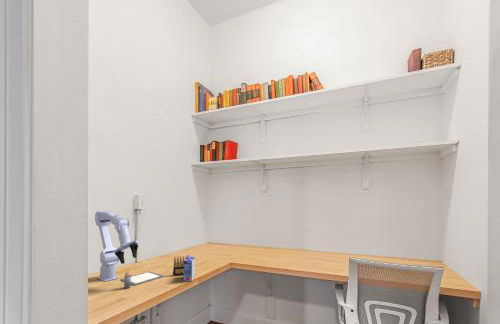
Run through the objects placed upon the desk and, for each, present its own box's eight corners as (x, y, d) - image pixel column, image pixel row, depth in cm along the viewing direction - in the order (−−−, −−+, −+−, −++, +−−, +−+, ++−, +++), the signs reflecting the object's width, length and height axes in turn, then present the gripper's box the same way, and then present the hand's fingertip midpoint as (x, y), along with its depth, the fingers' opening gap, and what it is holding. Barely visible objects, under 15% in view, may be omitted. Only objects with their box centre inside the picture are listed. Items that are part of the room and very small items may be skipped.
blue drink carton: (186, 276, 159) (187, 252, 161) (195, 276, 159) (195, 252, 161) (182, 281, 149) (183, 256, 151) (191, 281, 150) (192, 256, 152)
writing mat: (119, 280, 151) (119, 279, 151) (149, 272, 167) (149, 271, 167) (133, 285, 142) (133, 284, 142) (163, 276, 158) (163, 275, 158)
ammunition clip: (189, 274, 164) (190, 255, 165) (189, 274, 162) (190, 255, 163) (173, 274, 162) (173, 255, 163) (172, 275, 160) (173, 256, 162)
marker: (122, 288, 138) (123, 273, 139) (128, 286, 141) (129, 271, 142) (125, 289, 137) (126, 274, 138) (131, 287, 139) (132, 272, 140)
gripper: (108, 243, 143) (112, 266, 138) (131, 232, 143) (136, 254, 138) (117, 243, 150) (121, 266, 144) (138, 233, 150) (143, 255, 144)
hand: (128, 260), depth 141 cm, fingers open, 7 cm apart
